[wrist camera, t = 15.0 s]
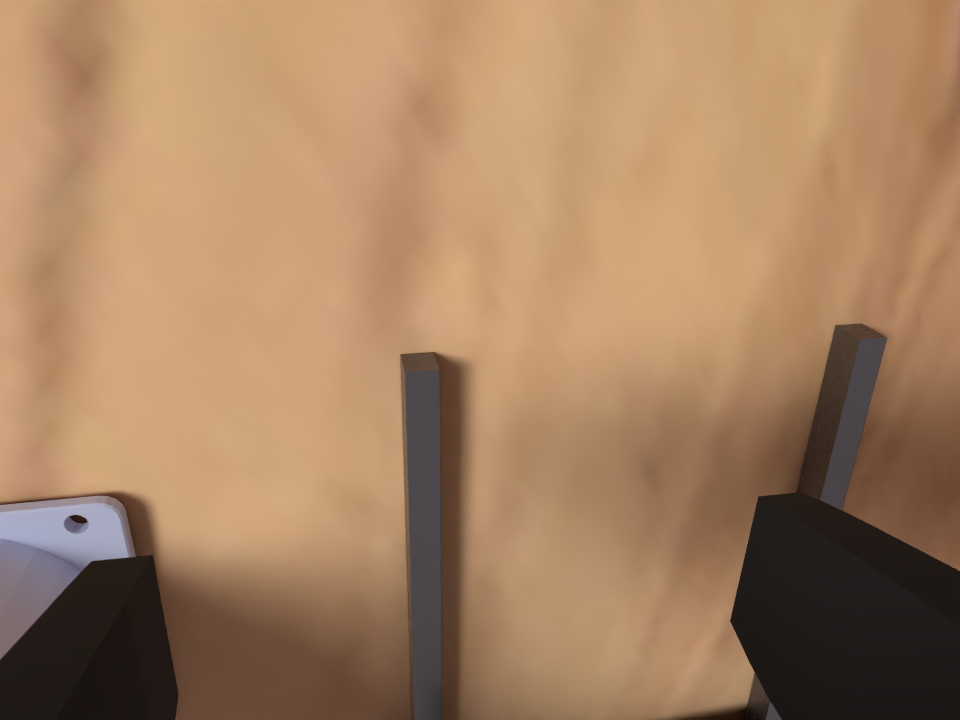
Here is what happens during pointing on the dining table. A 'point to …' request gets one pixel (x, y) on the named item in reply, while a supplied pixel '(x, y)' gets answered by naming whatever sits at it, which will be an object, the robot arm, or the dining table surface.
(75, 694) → the robot arm
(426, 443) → the rail
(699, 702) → the dining table surface
